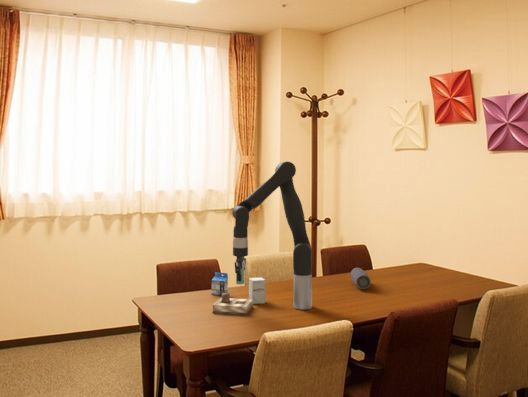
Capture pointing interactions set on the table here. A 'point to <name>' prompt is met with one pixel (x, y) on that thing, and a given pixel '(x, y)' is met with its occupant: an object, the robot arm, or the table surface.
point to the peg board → (232, 305)
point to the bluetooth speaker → (360, 278)
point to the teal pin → (241, 278)
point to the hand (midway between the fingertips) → (240, 280)
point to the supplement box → (257, 290)
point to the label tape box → (220, 284)
